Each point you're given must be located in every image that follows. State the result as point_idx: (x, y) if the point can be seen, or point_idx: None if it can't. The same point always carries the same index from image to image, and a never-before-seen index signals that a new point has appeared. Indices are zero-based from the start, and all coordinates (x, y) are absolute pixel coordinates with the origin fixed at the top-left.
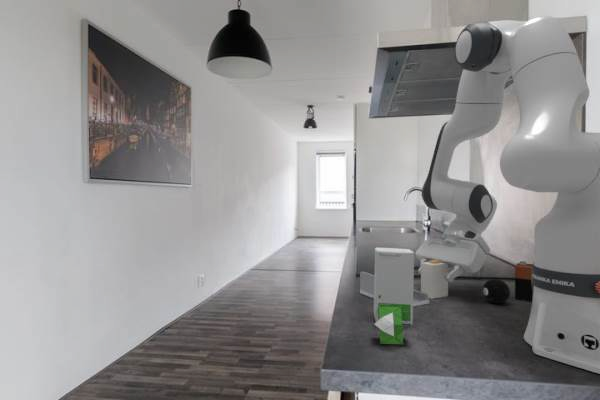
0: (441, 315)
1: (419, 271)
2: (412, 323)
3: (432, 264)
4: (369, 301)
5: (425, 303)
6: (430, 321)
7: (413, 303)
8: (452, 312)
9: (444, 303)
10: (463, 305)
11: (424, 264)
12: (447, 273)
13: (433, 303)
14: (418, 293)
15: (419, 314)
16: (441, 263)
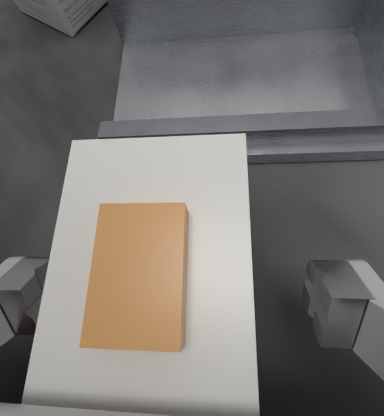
0: (11, 114)
1: (342, 261)
2: (20, 9)
3: (95, 174)
4: None
5: None
6: (5, 58)
7: (119, 90)
8: (2, 165)
9: None
10: None
11: (187, 142)
12: (14, 282)
13: None
14: (140, 122)
15: (58, 67)
16: (67, 339)
